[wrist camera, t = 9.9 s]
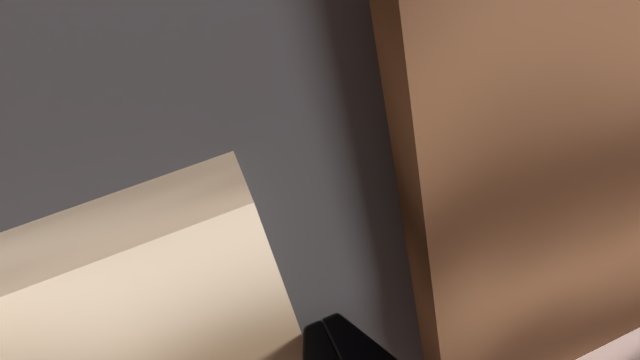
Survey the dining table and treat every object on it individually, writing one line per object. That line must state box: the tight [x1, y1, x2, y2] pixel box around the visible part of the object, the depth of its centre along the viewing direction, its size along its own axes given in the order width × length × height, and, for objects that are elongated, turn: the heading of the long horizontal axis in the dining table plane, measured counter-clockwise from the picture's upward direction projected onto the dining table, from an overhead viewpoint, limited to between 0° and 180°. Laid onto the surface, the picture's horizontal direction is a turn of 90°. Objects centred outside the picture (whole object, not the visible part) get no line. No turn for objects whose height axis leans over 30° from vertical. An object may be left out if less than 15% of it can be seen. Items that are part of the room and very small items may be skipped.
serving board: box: [369, 0, 640, 360], centre depth 12 cm, size 14×12×2 cm
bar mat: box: [0, 0, 424, 360], centre depth 11 cm, size 16×13×1 cm
